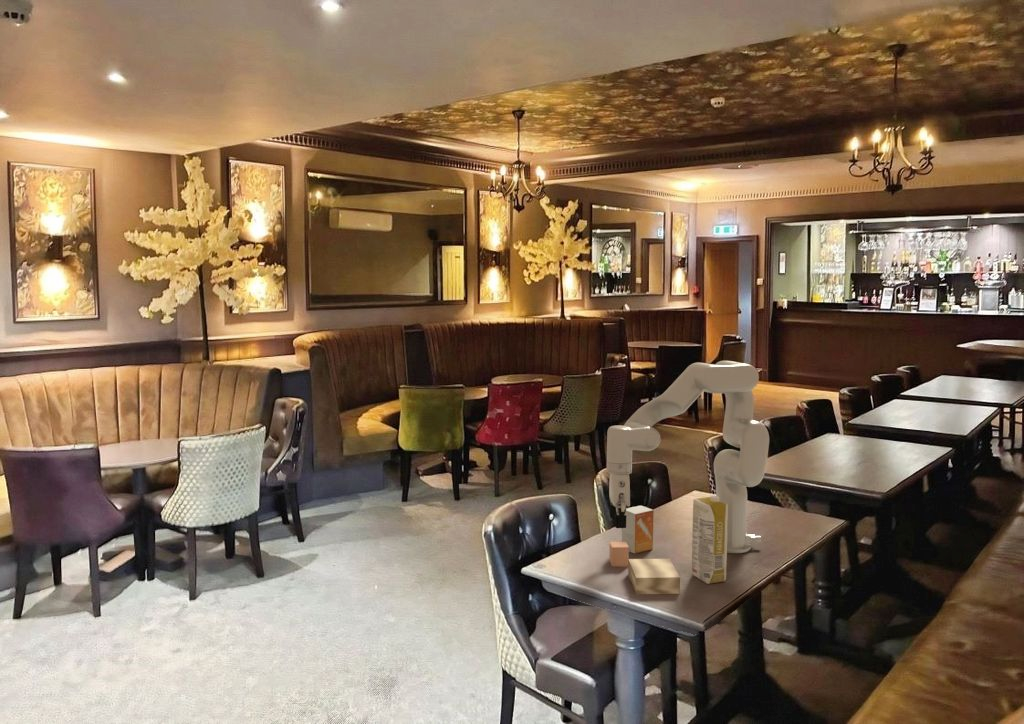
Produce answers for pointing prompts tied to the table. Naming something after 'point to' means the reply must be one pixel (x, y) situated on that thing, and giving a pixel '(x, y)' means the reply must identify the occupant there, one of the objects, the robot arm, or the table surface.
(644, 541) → the small box
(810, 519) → the table surface
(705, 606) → the table surface
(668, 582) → the birch block
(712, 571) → the juice carton
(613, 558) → the terracotta block
